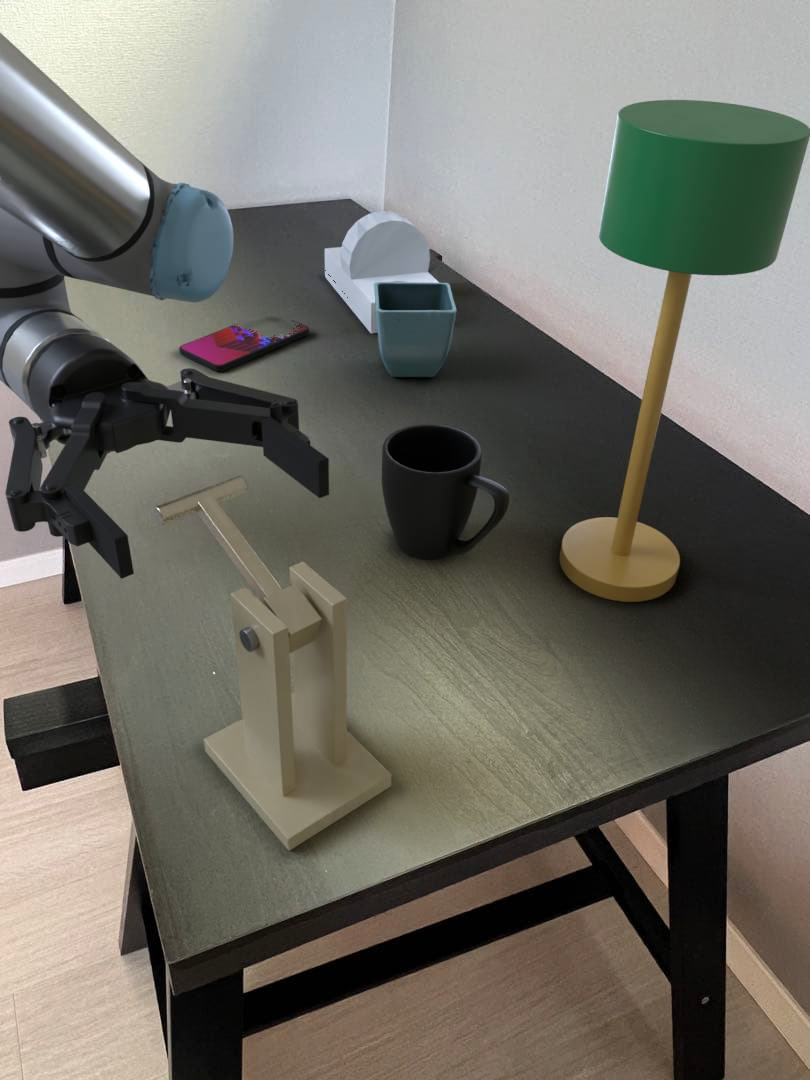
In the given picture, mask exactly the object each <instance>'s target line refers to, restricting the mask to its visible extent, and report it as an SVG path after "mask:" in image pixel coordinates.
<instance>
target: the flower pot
mask: <svg viewBox="0 0 810 1080" xmlns="http://www.w3.org/2000/svg"><path fill="white" fill-rule="evenodd" d="M374 293H375V304H376V318H377V329H378V333H377V341H378V348H379V354H380V357H381V360H382V363H383V365H384V367H385V369H386V371H387V372H388V374H389V375H390V376H391V377H393V378H433V377H435V376H436V375H437V374H438V372H439V371H440V370H441V369H442V367H443V366H444V364H445V362H446V360H447V357H448V355H449V351H450V348H451V345H452V339H453V333H454V328H455V322H456V315H457V307H456V303H455V301H454V296H453V292H452V289H451V285H450V283H449V282H439V283H433V282H426V283H425V282H376V283H374Z"/></svg>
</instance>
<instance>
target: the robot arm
mask: <svg viewBox="0 0 810 1080" xmlns="http://www.w3.org/2000/svg"><path fill="white" fill-rule="evenodd" d="M231 219H232V218H231V216H230V213H229V210H228V208H227V207H226V205H225V203H224V202H223V200H222V199H220V197H219V196H217V195H216V194H215V193H213V192H211V191H209V190H205V189H202V188H197V187H192V186H191V185H190V183H185V182H178V183H172V182H169V181H166V180H164V179H162V178H160V176H158V175H157V174H155V172H153V171H152V170H151V169H150V168H149V167H147V166H146V164H144V163H143V162H142V161H140V160H139V158H138V157H136V156H135V155H134V154H133V153H132V152H131V151H130V150H129V149H127V147H125V146H124V145H123V144H122V143H121V142H120V141H119V140H118V139H117V138H116V137H115V136H114V135H112V134H111V133H110V132H109V131H108V130H107V129H106V128H105V127H103V125H101V124H100V123H99V122H98V121H97V120H96V119H95V118H94V117H93V116H92V115H91V114H89V113H88V112H87V111H86V110H85V109H84V108H83V107H82V106H81V105H80V104H79V103H78V102H76V100H74V99H73V97H71V96H70V95H69V94H68V93H67V92H65V90H63V88H61V87H60V86H59V85H58V84H57V83H56V82H55V81H53V79H51V77H50V76H48V75H47V74H46V73H45V72H44V71H43V70H42V69H41V68H40V67H38V66H37V65H36V64H35V63H34V62H33V61H32V60H31V59H30V58H29V57H28V56H27V55H25V53H23V52H22V51H21V50H20V49H19V48H18V47H16V45H15V44H14V43H12V42H11V41H10V40H9V39H8V38H7V37H6V36H5V35H4V34H3V33H1V32H0V382H2V383H3V384H4V385H5V386H6V387H7V388H8V389H9V390H10V391H11V392H13V393H14V395H16V396H17V397H18V398H19V399H20V400H21V401H22V402H23V403H24V404H25V405H26V406H27V407H28V408H29V409H30V410H31V411H32V412H33V413H34V414H36V416H37V417H38V418H39V419H40V420H41V421H42V422H33V423H31V422H30V420H29V418H28V417H25V416H16V417H13V418H10V419H9V420H8V425H9V429H10V433H11V438H12V442H13V448H12V454H11V456H12V457H11V460H10V466H9V471H8V478H7V482H6V488H5V492H4V493H5V497H6V502H7V507H8V510H9V514H10V518H11V522H12V525H13V528H14V530H15V531H16V532H19V533H23V532H28V531H31V530H33V529H34V528H35V526H36V524H37V523H47V525H48V530H49V533H50V535H51V536H53V537H55V538H59V537H64V538H65V540H67V541H68V543H69V544H70V545H73V546H75V547H80V546H83V545H86V544H88V545H90V546H91V547H92V549H94V550H95V552H96V553H97V554H98V555H99V556H100V557H101V558H102V559H103V560H104V561H105V562H106V564H107V565H108V566H109V567H110V568H111V569H112V570H113V571H114V573H116V574H117V575H118V577H119V578H120V579H124V578H127V577H130V576H132V575H134V574H135V572H134V566H133V558H132V554H131V548H130V542H129V536H128V534H127V533H126V532H125V531H124V530H123V529H122V528H121V527H120V526H119V525H118V524H117V522H115V521H114V520H113V518H112V517H111V516H109V515H108V513H106V512H105V510H104V509H103V508H102V507H101V506H100V505H99V504H98V503H97V501H95V500H94V499H93V498H92V497H91V496H90V495H89V494H88V493H87V492H86V491H85V489H86V487H87V486H88V483H89V482H90V480H91V478H92V476H93V474H94V472H95V471H99V470H100V469H101V467H102V465H103V462H104V461H105V459H106V457H107V456H108V454H110V453H111V452H115V453H116V454H120V453H122V452H126V451H128V450H131V449H132V448H134V447H136V446H139V445H140V446H141V445H145V444H146V445H147V444H150V443H153V442H156V441H163V442H169V443H172V442H173V443H179V444H180V443H183V442H184V441H185V440H186V439H196V440H202V441H203V440H204V441H211V442H219V443H226V444H228V443H229V444H236V445H244V446H251V447H260V448H262V452H263V456H264V457H265V458H266V459H267V460H269V461H270V462H271V463H273V464H274V465H275V466H277V468H279V469H280V470H281V471H283V472H284V473H286V474H287V475H288V476H290V478H292V479H294V481H296V482H297V483H299V484H300V485H301V486H303V488H305V489H307V490H308V491H309V492H310V493H312V494H313V495H314V496H315V497H317V498H318V499H322V498H325V497H327V496H329V495H330V461H329V460H330V458H329V457H327V456H326V455H325V454H323V452H321V451H319V450H318V449H316V448H315V447H313V446H312V445H311V439H310V437H309V436H308V435H307V434H305V433H303V432H302V431H300V418H299V417H300V416H299V414H300V413H299V401H298V399H296V398H293V397H290V396H285V395H281V394H278V393H274V392H269V391H266V390H262V389H257V388H254V387H250V386H246V385H242V384H237V383H234V382H229V381H226V380H222V379H219V378H214V377H210V376H208V375H206V374H204V373H203V372H201V371H199V370H198V369H196V368H191V367H190V368H183V369H181V370H180V371H179V373H180V380H179V381H178V382H175V383H172V384H169V385H165V384H163V383H161V382H157V381H153V380H151V379H148V377H147V376H146V374H145V373H144V371H143V370H142V369H141V368H140V366H139V365H138V364H137V362H135V361H134V359H132V358H131V357H130V356H129V355H127V354H126V353H125V352H123V351H122V350H121V349H119V348H118V347H117V346H116V345H115V344H113V343H112V342H111V341H110V340H109V339H107V338H106V337H105V336H104V335H102V334H101V333H100V332H98V331H96V330H95V329H94V328H93V327H92V326H90V325H89V324H87V323H86V322H85V321H83V319H81V318H80V317H78V316H77V315H76V314H74V313H73V312H72V310H71V307H70V302H69V297H68V292H67V286H66V280H65V277H67V278H71V279H75V280H80V281H85V282H90V283H94V284H98V285H104V286H108V287H111V288H116V289H120V290H125V291H128V292H133V293H137V294H141V295H146V296H151V297H154V298H155V299H156V300H159V301H164V300H166V299H168V300H174V301H179V302H187V303H200V302H203V301H205V300H208V299H209V298H211V297H212V296H213V295H215V293H217V292H218V290H219V289H220V288H221V286H222V285H223V284H224V282H225V279H226V278H227V275H228V270H229V267H230V264H231V262H232V259H233V253H234V228H233V223H232V220H231ZM170 415H171V423H172V426H170V425H168V421H169V417H170ZM55 440H56V442H58V443H59V444H61V445H64V446H63V448H62V450H61V451H60V453H59V454H58V456H57V458H56V460H55V461H54V463H53V465H52V466H51V468H50V470H49V471H48V473H47V475H46V477H45V478H44V480H43V482H42V478H43V477H42V476H43V469H44V468H43V467H44V465H43V461H42V460H43V459H45V458H47V457H48V453H47V450H48V449H50V446H51V443H52V442H53V441H55Z"/></svg>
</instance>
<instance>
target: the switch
mask: <svg viewBox="0 0 810 1080" xmlns="http://www.w3.org/2000/svg"><path fill="white" fill-rule="evenodd" d="M248 492H249V487H248V482H247V481H246V479H245V477H244V476H242V475H236V476H235V477H232V478H229V479H226V480H223V481H221V482H219V483H216V484H213V485H211V486H208V487H204V488H201V489H199V490H197V491H194V492H191V493H188V494H186V495H182V496H180V497H178V498H175V499H173V500H170V501H166V502H164V503H162V504H159V505H156V506H155V507H153V515H154V518H155V520H156V521H157V523H158V524H159V525H160V526H164V525H168V524H171V523H173V522H175V521H178V520H180V519H183V518H186V517H188V516H190V515H193V514H196V513H197V514H198V516H199V517H200V519H201V520H202V521H203V522H204V525H206V527H207V529H208V530H209V531H210V532H211V534H212V535H213V537H214V538H215V540H216V541H217V542H218V543H219V545H220V546H221V547H222V549H223V550H224V552H225V553H226V555H227V556H228V557H229V559H230V560H231V562H232V563H233V564H234V566H235V567H236V569H238V571H239V572H240V574H241V575H242V576H243V579H245V581H246V582H247V583H248V585H249V586H250V587H251V589H252V590H253V592H254V593H255V595H256V597H257V598H258V599H259V600H260V601H261V602H262V603H263V604H264V605H265V606H266V607H267V608H268V609H269V610H270V611H271V612H272V613H273V614H274V615H276V616H277V617H278V618H279V619H280V620H281V621H282V622H283V623H284V624H285V625H286V626H287V627H288V637H289V655H291V654H293V652H294V651H296V650H298V649H300V648H302V647H304V646H306V645H308V644H310V643H312V642H314V641H315V639H316V636H317V633H318V630H319V627H320V624H321V620H322V618H321V617H320V616H319V614H318V613H317V612H316V610H315V609H314V608H313V606H312V605H311V604H310V602H309V601H308V600H307V598H306V597H305V596H304V594H303V593H302V592H301V590H300V589H299V588H298V586H297V585H296V584H294V585H291V586H290V585H289V586H287V587H285V588H282V587H281V586H280V584H279V583H278V581H277V579H275V577H274V576H273V575H272V573H271V572H270V571H269V569H268V568H267V566H266V565H265V564H264V563H263V561H262V560H261V559H260V557H259V556H258V555H257V553H256V552H255V550H254V549H253V548H252V546H251V545H250V543H248V541H247V540H246V538H245V537H244V536H243V534H242V533H241V532H240V530H239V529H238V527H237V526H236V525H235V523H233V521H232V520H231V518H230V517H229V515H228V514H227V513H226V512H225V510H224V509H223V507H222V506H221V504H223V503H225V502H227V501H230V500H232V499H235V498H237V497H240V496H243V495H245V494H247V493H248Z"/></svg>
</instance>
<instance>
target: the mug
mask: <svg viewBox="0 0 810 1080" xmlns="http://www.w3.org/2000/svg"><path fill="white" fill-rule="evenodd" d="M381 454H382V455H381V489H382V496H383V497H382V498H383V502H384V508H385V511H386V516H387V518H388V522H389V524H390V528H391V531H392V535H393V538H394V539H393V540H394V542H395V545H396V547H398V549H399V550H400V551H401V552H402V553H403V554H405V555H408V556H409V557H411V558H415V559H421V560H437V559H441V558H445V557H447V556H449V555H450V554H452V555H455V556H461V555H464V554H466V553H469V552H470V551H471V550H472V549H473V548H475V547H476V546H477V545H479V543H480V542H481V541H482V540H484V539H485V537H487V535H489V533H491V532H492V531H493V529H495V528H496V527H497V526H498V524H499V523H501V521H502V520H503V519H504V517H505V515H506V513H507V511H508V508H509V504H510V494H509V491H508V490H507V488H505V486H503V485H502V484H499V483H498V482H497V481H494V480H492V479H489V478H486V477H484V476H480V475H481V474H480V473H481V467H482V466H481V465H482V448H481V445H480V444H479V442H478V440H477V439H476V438H475V437H473V436H472V435H471V434H469V433H468V432H465V431H463V430H460V429H458V428H455V427H452V426H448V425H442V424H433V423H432V424H430V423H423V424H413V425H409V426H404V427H402V428H398V429H397V430H395V431H393V432H392V433H390V434H389V435H388V436H386V438H385V440H384V442H383V443H382V447H381ZM478 489H480V490H482V491H485V492H486V493H487V494H489V495H490V496H491V497H492V499H493V501H494V506H493V507H494V508H493V512H492V513H491V516H490V518H489V519H488V520H487V522H486V523H484V525H483V526H482V527H481V528H480V530H479V531H478V532H477V533H476V534H475V535H473V536H472V537H470V538H468V539H462V538H461V536H462V534H463V532H464V530H465V528H466V526H467V524H468V521H469V519H470V516H471V513H472V510H473V507H474V504H475V501H476V497H477V493H478Z"/></svg>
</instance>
